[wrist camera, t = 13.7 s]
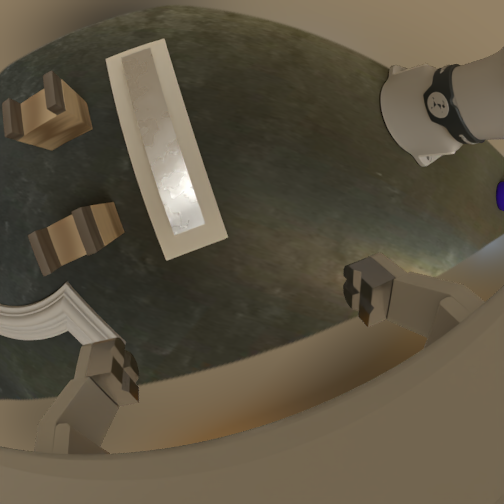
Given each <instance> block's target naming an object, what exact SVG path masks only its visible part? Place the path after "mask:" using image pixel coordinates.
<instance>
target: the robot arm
mask: <svg viewBox="0 0 504 504" xmlns="http://www.w3.org/2000/svg"><path fill="white" fill-rule="evenodd" d="M381 110H382V114H383V118H384V121H385V123H386V126H387V128H388V130H389V132H390V133H391V135H392V137H393V138H394V140H395V141H396V142H397V143H398V144H399V145H400V146H401V147H402V148H403V149H404V150H406V151H407V152H409V153H410V154H411V155H412V156H413V157H414V158H415V160H416V161H417V162H418V164H419V165H420V166H422V167H424V166H428V165H429V164H431V163H432V162H434V161H435V160H436V159H438V158H439V157H441V156H442V155H448V154H454V153H455V151H456V150H458V149H459V148H460V147H461V146H462V145H463V144H477V143H482V142H484V141H485V140H489V139H504V47H503V48H502V49H501V50H500V51H498V52H497V53H495V54H493V55H491V56H489V57H486V58H484V59H480V60H477V61H474V62H471V63H468V64H465V65H458V64H454V65H447V66H444V67H443V68H439V69H436V68H435V67H433V66H429V65H428V64H422V65H419V66H416V67H413V68H410V69H407V68H404V67H401V66H398V65H393V66H391V67H390V70H389V78H388V80H387V81H386V82H385V84H384V85H383V88H382V91H381ZM344 277H345V278H346V279H347V280H346V282H345V284H344V285H343V289H344V296H345V299H346V301H347V303H348V305H349V306H350V307H351V308H352V309H354V310H357V311H359V313H358V317H359V318H360V319H361V320H362V321H363V322H364V324H365V325H366V326H367V327H371V326H373V325H375V324H377V323H379V322H381V321H384V320H386V319H387V320H388V321H390V322H392V323H395V324H397V325H399V326H402V327H404V328H406V329H409V330H411V331H413V332H416V333H418V334H420V335H422V336H425V337H427V338H428V339H427V341H426V344H425V347H424V349H423V350H421V351H420V352H418V353H417V354H415V355H414V356H412V357H410V358H409V359H407V360H405V361H404V362H402V363H400V364H399V365H397V366H396V367H394V368H392V369H390V370H389V371H387V372H385V373H383V374H381V375H380V376H378V377H376V378H374V379H372V380H370V381H368V382H366V383H365V384H363V385H361V386H359V387H357V388H355V389H353V390H351V391H349V392H346V393H344V394H342V395H340V396H338V397H336V398H334V399H331V400H329V401H327V402H324V403H322V404H320V405H317V406H315V407H313V408H310V409H308V410H305V411H303V412H300V413H297V414H295V415H292V416H289V417H287V418H284V419H281V420H278V421H275V422H272V423H270V424H266V425H263V426H260V427H257V428H254V429H250V430H247V431H243V432H240V433H236V434H232V435H229V436H225V437H221V438H217V439H213V440H208V441H203V442H199V443H194V444H189V445H183V446H178V447H172V448H165V449H158V450H150V451H141V452H131V453H118V454H110V453H109V452H107V451H106V450H104V449H102V448H101V447H100V446H101V444H102V442H103V440H104V437H105V435H106V433H107V431H108V429H109V427H110V425H111V423H112V421H113V419H114V417H115V415H116V413H117V411H118V409H119V406H124V405H129V404H134V403H139V387H138V386H137V385H136V384H135V382H136V381H137V379H138V378H139V370H138V366H137V362H136V360H135V358H134V356H133V355H132V354H131V353H130V352H128V351H126V350H125V344H124V342H123V341H122V340H121V338H118V337H116V338H112V339H107V340H103V341H98V342H94V343H90V344H85V345H83V346H82V347H81V350H80V354H79V358H78V363H77V367H76V372H75V377H74V380H70V382H69V383H68V384H67V386H66V387H65V388H64V389H63V391H62V392H61V393H60V395H59V396H58V397H57V399H56V400H55V401H54V403H53V404H52V405H51V406H50V408H49V409H48V410H47V412H46V413H45V415H44V416H43V417H42V419H41V420H40V421H39V423H38V428H37V435H36V442H35V449H34V452H33V451H25V450H18V449H11V448H6V447H0V504H504V285H503V286H502V287H501V288H500V289H499V290H498V291H497V292H496V293H495V294H494V295H493V296H492V297H490V298H489V299H488V300H487V301H486V302H484V301H483V300H482V299H481V298H480V297H478V296H477V295H476V294H475V293H474V292H472V291H471V290H470V289H469V288H467V287H466V286H465V285H463V284H459V283H455V282H451V281H447V280H443V279H439V278H435V277H431V276H426V275H422V274H418V273H414V272H408V273H407V272H405V271H404V270H403V269H402V268H400V267H399V266H398V265H397V264H395V263H394V262H393V261H392V260H390V259H389V258H388V257H386V256H385V255H384V254H383V253H379V252H378V253H376V254H373V255H371V256H368V257H367V258H364V259H362V260H359V261H356V262H354V263H351V264H349V265H346V266H345V267H344Z"/></svg>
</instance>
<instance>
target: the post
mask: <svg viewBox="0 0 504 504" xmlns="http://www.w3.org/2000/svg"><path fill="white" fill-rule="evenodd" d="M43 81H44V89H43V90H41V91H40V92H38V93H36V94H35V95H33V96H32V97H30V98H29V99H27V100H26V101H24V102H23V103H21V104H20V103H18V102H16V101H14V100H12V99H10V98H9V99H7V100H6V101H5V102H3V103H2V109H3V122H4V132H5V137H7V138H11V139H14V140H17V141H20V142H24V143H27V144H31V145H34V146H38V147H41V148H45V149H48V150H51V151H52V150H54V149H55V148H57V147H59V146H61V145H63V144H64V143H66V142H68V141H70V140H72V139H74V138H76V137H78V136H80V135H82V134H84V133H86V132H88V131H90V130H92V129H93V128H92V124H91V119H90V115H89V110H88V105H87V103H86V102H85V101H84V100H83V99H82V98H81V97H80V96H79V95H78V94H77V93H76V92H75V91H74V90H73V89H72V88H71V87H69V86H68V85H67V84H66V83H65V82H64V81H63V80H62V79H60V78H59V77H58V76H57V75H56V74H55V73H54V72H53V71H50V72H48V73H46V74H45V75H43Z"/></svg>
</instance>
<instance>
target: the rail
mask: <svg viewBox="0 0 504 504" xmlns="http://www.w3.org/2000/svg"><path fill="white" fill-rule="evenodd" d="M121 59H122V63H123V68H124V72H125V76H126V81H127V85H128V89H129V93H130V97H131V100H132V104H133V108H134V112H135V115H136V119H137V123H138V126H139V130H140V133H141V137H142V140H143V143H144V147H145V150H146V153H147V156H148V160H149V163H150V166H151V169H152V172H153V175H154V178H155V181H156V184H157V187H158V190H159V193H160V196H161V199H162V202H163V205H164V208H165V211H166V214H167V216H168V219H169V222H170V225H171V227H172V230H173V233H174V235H176V234H179V233H182V232H184V231H187V230H189V229H192V228H195V227H198V226H200V225H203V224H205V222H204V219H203V216H202V213H201V210H200V207H199V204H198V201H197V198H196V195H195V192H194V189H193V186H192V183H191V180H190V177H189V174H188V171H187V168H186V165H185V162H184V159H183V156H182V153H181V150H180V147H179V144H178V140H177V137H176V134H175V131H174V128H173V124H172V121H171V118H170V115H169V111H168V108H167V105H166V101H165V98H164V94H163V91H162V88H161V84H160V81H159V77H158V74H157V70H156V67H155V63H154V59H153V56H152V52H151V48H147V49H144V50H141V51H138V52H135V53H132V54H130V55H127V56H124V57H122V58H121Z"/></svg>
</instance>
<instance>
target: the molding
mask: <svg viewBox="0 0 504 504" xmlns="http://www.w3.org/2000/svg"><path fill="white" fill-rule="evenodd" d="M66 331H69V332H70V333H71V334H72V335H73V336H74V337H75V338H76V339H77V340H78V341H79V342H80V343H81V344H82V345H85V344H90V343H94V342H98V341H103V340H107V339H112V338H116V337H118V338H121V340H122V341H123V342H124V344H126V341H125V340H124V339H123V338H122V337H120V336H119V335H118V334H117V333H116V332H115V331H114V330H113V329H112V328H111V327H110V326H109V325H108V324H107V323H106V322H105V321H104V320H103V319H102V318H101V317H100V316H99V315H98V314H97V313H96V312H95V311H94V310H93V309H92V308H91V307H90V306H89V305H88V304H87V303H86V302H85V300H84V299H83V298H82V297H81V296H80V295H79V294H78V293H77V292H76V291H75V289H74V288H73V287H72V286H71V285H70V284H69V283H68V281H67V282H66V283H65V284H64V285H63V286H62V287H61V288H60V289H59V290H57V291H56V292H55V293H54V294H52V295H51V296H49V297H47V298H45V299H44V300H41V301H39V302H37V303H34V304H30V305H25V306H7V305H2V304H0V335H3V336H6V337H9V338H14V339H20V340H40V339H46V338H50V337H54V336H57V335H59V334H62V333H64V332H66Z"/></svg>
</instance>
